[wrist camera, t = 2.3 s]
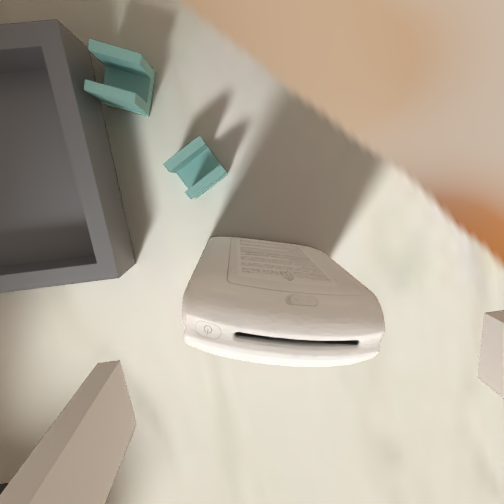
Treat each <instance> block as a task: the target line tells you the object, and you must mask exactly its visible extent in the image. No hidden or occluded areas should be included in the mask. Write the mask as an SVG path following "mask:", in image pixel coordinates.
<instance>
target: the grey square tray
mask: <svg viewBox="0 0 504 504" xmlns="http://www.w3.org/2000/svg"><path fill="white" fill-rule="evenodd" d="M85 79H86V80H90V81H93V82H96V81H95V77H94V72H93V67H92V63H91V58H90V54H89V50H88V48H87V47H86V46H85V45H84V44H83V43H82V42H81V41H80V40H79V39H78V38H77V37H75V36H74V35H73V34H72V33H71V32H70V31H69V30H68V29H67V28H66V27H65V26H64V25H62V24H61V23H60V22H59V21H58V20H57V19H55V20H44V21H33V22H22V23H11V24H0V293H2V292H10V291H18V290H26V289H34V288H42V287H50V286H58V285H66V284H74V283H82V282H90V281H98V280H107V279H115V278H119V277H121V276H122V275H123V274H124V273H125V272H126V271H128V270H129V269H130V268H131V267H132V266H133V265H134V264H136V262H135V257H134V253H133V248H132V244H131V239H130V235H129V230H128V226H127V221H126V217H125V212H124V208H123V203H122V199H121V194H120V190H119V185H118V181H117V176H116V172H115V167H114V162H113V158H112V153H111V149H110V144H109V140H108V135H107V131H106V126H105V122H104V117H103V113H102V108H101V104H100V99H98V98H96V97H95V96H93V95H91V94H90V93H88V92H87V91H85V90H84V84H85Z"/></svg>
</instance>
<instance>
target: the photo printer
mask: <svg viewBox="0 0 504 504" xmlns="http://www.w3.org/2000/svg"><path fill="white" fill-rule="evenodd" d="M182 321H183V324H184V326H185V331H184V341H185V343H186V344H188V345H190V346H193V347H195V348H197V349H200V350H202V351H205V352H208V353H211V354H215V355H219V356H223V357H227V358H232V359H237V360H242V361H248V362H255V363H262V364H271V365H283V366H299V367H326V366H340V365H348V364H353V363H358V362H361V361H365V360H368V359H371V358H373V357H375V356H376V355H377V354H378V352H379V344H380V340H381V337H382V335H383V334H384V333H385V323H384V317H383V312H382V309H381V306H380V303H379V301H378V299H377V297H376V296H375V295H374V294H373V293H372V292H371V291H370V290H369V289H368V288H367V287H365V286H364V285H363V284H362V283H360V282H359V281H358V280H357V279H356V278H354V277H353V276H352V275H351V274H349V273H348V272H347V271H346V270H345V269H343V268H342V267H341V266H340V265H339V264H337V263H336V262H335V261H334V260H332V259H331V258H330V257H329V256H328V255H327V254H325V253H324V252H322V251H320V250H318V249H315V248H311V247H307V246H302V245H296V244H288V243H281V242H273V241H266V240H257V239H247V238H238V237H211V238H210V239H209V241H208V243H207V246H206V247H205V249H204V251H203V253H202V255H201V257H200V259H199V262H198V264H197V266H196V268H195V270H194V272H193V274H192V277H191V279H190V281H189V283H188V285H187V288H186V290H185V292H184V295H183V303H182Z"/></svg>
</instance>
